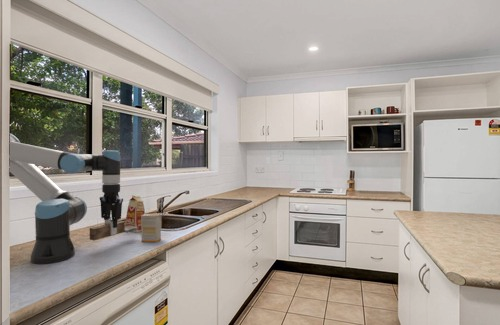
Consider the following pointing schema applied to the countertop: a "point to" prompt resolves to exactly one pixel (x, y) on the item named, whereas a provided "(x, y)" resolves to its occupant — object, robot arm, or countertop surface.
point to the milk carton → (135, 213)
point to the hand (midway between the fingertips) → (110, 233)
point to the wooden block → (109, 230)
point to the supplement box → (150, 227)
